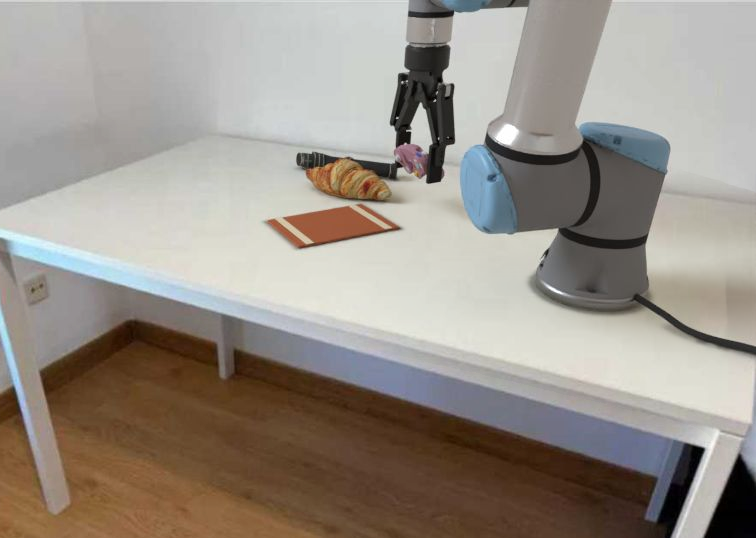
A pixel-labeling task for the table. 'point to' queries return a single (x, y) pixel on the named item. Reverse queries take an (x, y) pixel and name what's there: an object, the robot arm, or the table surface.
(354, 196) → the croissant
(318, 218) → the tea towel
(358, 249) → the table surface
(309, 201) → the table surface
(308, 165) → the twine-wrapped black handle
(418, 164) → the video game controller
